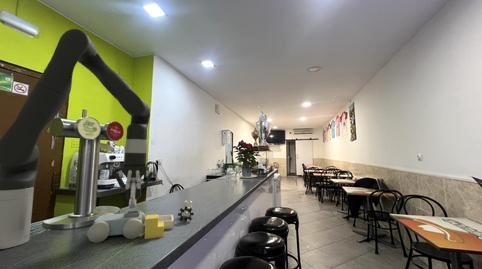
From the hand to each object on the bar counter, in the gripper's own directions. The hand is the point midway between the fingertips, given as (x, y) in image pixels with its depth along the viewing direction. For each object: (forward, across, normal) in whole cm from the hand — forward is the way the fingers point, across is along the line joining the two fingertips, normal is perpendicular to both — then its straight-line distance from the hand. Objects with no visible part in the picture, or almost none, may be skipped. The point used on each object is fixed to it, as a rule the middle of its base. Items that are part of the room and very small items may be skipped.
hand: (132, 199), depth 79 cm
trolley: (+12, +4, 0) cm, 13 cm away
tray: (+12, -10, -4) cm, 16 cm away
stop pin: (+3, 0, 0) cm, 3 cm away
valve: (+12, -21, -12) cm, 27 cm away
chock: (+12, -8, +5) cm, 15 cm away
